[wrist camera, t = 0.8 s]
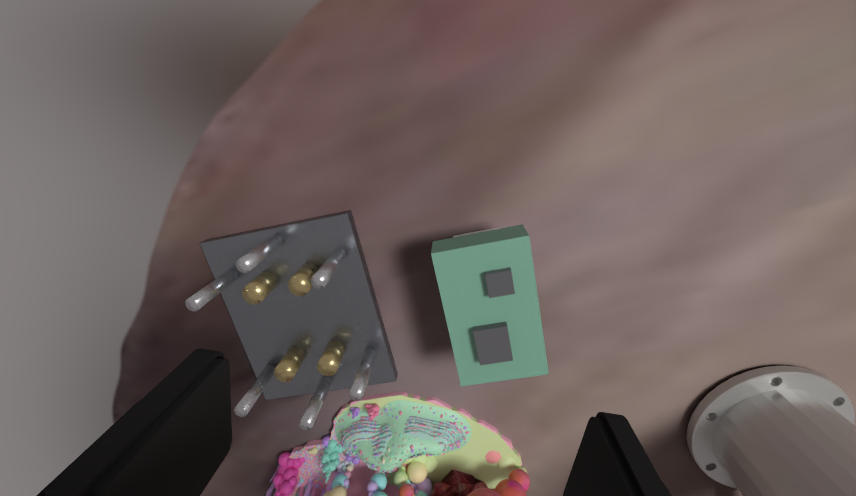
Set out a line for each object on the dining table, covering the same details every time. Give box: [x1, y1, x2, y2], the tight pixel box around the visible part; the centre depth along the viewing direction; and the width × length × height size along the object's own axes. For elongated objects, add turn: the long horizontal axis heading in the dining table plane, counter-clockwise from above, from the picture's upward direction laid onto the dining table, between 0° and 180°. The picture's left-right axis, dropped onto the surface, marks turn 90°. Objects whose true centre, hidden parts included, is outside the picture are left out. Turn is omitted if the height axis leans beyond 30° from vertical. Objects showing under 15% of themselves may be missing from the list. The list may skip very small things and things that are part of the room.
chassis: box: [185, 210, 398, 430], centre depth 30 cm, size 15×12×6 cm
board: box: [431, 225, 549, 386], centre depth 26 cm, size 10×6×3 cm, turn 12°
